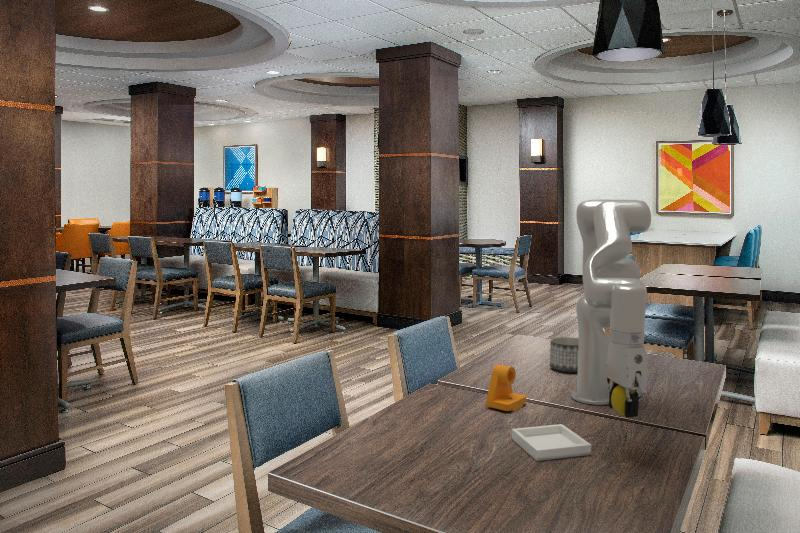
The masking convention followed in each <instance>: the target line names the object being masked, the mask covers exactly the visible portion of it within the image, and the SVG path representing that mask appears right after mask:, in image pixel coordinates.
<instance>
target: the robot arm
mask: <svg viewBox="0 0 800 533" xmlns="http://www.w3.org/2000/svg"><path fill="white" fill-rule="evenodd" d="M575 214H576V215H575V216H576V224H577V227H578V231H579V233H580V236H581V240H582V284H583V285H582V287H583V293H584V295H583V296H582V297H580V298H579V299H578V300H577V302H576V308H575V309H576V316H577V326H578V328H577V329H578V330H577V331H578V338H579V343H578V372H577V378H576V379H577V381H576V382H577V384H576V389H574V390H573V391H572V392H571V398H572V399H573V400H575V401H577V402H578V403H583V404H586V405H595V406H598V405H599V406H602V405H603V406H605V405H608V407H609V408H610V409H614V408H613V406H612V403H611V396H612V392H613V390H614V388H615V387H616V386H618V385H621V386H623V387H625V389H626V395H627V400H625V414H624V416H623V417H625V418H626V419H628V418H629V419H630V418H637V417H638V416H639V404H640V402H641V399H642V398H643V396H644V395H646V394H647V393H648V392H647V388H646V387H647V386H648V385H647V384H648V360H647V359H648V358H647V351H646V346H645V345H644V344H645V343H644V342H645V329H646V328H645V326H646V325H645V324H646V306H647V304H646V303H647V296H648V295H647V294H648V293H647V292H648V290H647V286H646V285H645V284H644V281H642V280H641V278H640V277H641V276H640V268H639V266H638V264H637V262H636V261H635V260H633V259H631V258H627V257H628V256H629V255H630V254H631V253H632V250H633V244H632V237H631V233H645V232H647V231H648V230H649V229H650V227H651V225H652V224H651V222H652V213H651V209H650V206H649V205H648V204H647V202H646V201H644V200H638V199H588V200H585V201H582V202H580V203H579V204H578V205H577V207H576V213H575ZM605 328H609V335H608V334H607V333H606V332H605V331H604V329H605ZM631 390H634V393H633V394H632V395H631Z"/></svg>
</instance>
